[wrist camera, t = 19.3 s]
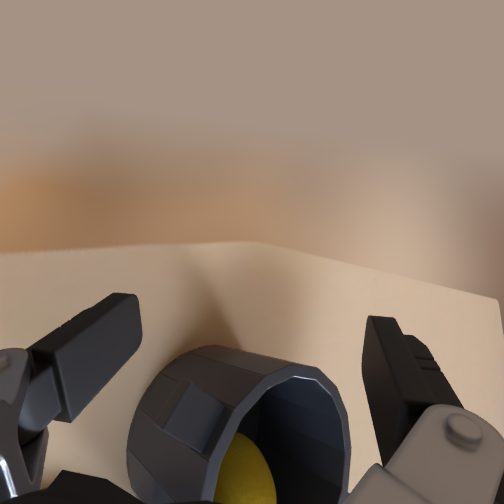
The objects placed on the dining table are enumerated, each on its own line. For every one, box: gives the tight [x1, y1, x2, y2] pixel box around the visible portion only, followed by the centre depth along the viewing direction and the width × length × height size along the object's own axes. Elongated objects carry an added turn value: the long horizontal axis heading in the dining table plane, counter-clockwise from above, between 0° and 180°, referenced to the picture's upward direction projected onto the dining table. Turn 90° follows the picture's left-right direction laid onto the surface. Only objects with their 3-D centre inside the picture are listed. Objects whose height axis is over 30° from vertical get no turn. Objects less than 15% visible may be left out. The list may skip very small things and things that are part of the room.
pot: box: [126, 345, 351, 504], centre depth 21 cm, size 13×18×10 cm
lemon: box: [213, 432, 277, 504], centre depth 20 cm, size 6×6×8 cm
